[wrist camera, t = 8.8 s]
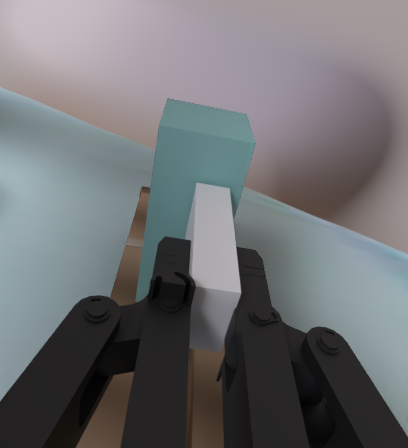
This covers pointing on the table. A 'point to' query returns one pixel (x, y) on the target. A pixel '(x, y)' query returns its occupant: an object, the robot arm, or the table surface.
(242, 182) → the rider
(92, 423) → the beam
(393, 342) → the table surface
